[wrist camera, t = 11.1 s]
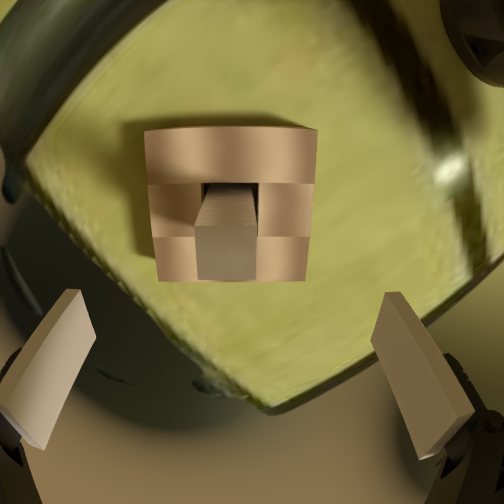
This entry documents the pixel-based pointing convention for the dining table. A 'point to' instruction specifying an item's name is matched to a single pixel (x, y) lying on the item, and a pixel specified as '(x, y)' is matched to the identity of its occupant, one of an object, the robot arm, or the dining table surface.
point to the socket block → (232, 171)
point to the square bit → (226, 233)
